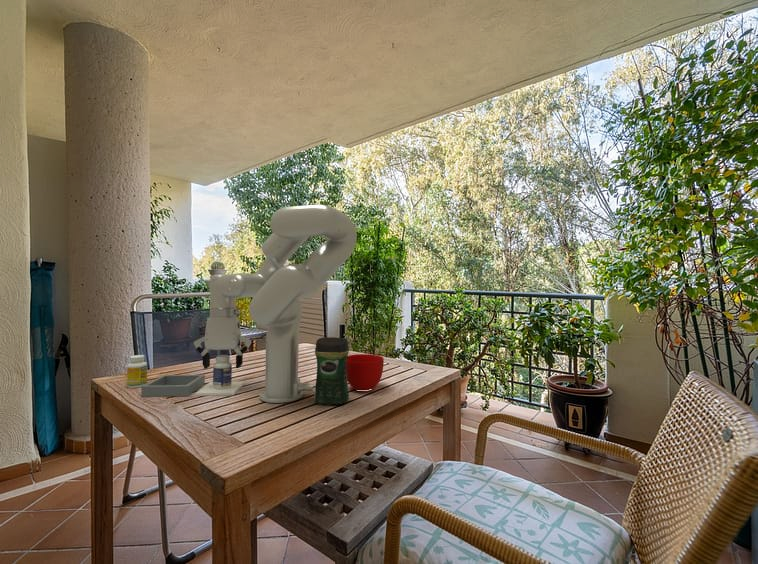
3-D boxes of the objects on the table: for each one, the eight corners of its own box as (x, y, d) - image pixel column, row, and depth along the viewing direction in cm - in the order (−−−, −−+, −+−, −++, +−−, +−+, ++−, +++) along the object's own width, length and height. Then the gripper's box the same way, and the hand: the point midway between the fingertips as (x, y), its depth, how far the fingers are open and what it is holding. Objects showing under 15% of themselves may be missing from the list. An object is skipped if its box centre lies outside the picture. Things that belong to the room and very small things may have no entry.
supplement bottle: (131, 383, 118) (131, 354, 118) (149, 383, 119) (150, 354, 119) (123, 388, 112) (123, 358, 112) (142, 387, 114) (143, 357, 114)
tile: (244, 383, 120) (244, 381, 120) (233, 395, 108) (233, 392, 108) (210, 384, 119) (210, 381, 119) (195, 395, 107) (195, 393, 107)
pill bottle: (224, 390, 110) (225, 358, 110) (209, 388, 111) (209, 357, 111) (234, 385, 115) (235, 354, 115) (220, 383, 116) (220, 353, 116)
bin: (204, 383, 119) (204, 374, 119) (187, 396, 106) (187, 386, 106) (163, 384, 118) (163, 375, 118) (141, 396, 105) (141, 386, 105)
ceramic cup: (381, 380, 127) (382, 352, 127) (384, 395, 110) (384, 362, 110) (345, 379, 127) (345, 351, 127) (342, 395, 110) (342, 362, 110)
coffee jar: (350, 398, 107) (351, 336, 107) (345, 407, 99) (346, 340, 99) (318, 396, 108) (320, 335, 108) (311, 405, 100) (312, 339, 100)
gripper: (254, 312, 118) (253, 364, 118) (199, 312, 116) (199, 365, 116) (248, 314, 110) (247, 369, 110) (189, 314, 109) (189, 371, 109)
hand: (222, 367), depth 113 cm, fingers open, 9 cm apart
